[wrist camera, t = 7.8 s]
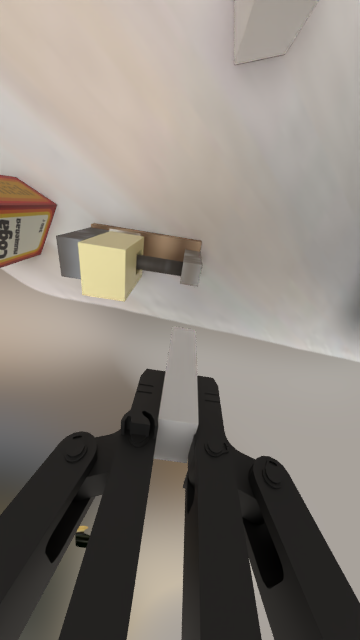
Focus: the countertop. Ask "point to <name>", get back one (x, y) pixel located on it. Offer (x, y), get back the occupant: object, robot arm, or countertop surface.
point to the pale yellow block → (110, 265)
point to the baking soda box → (22, 220)
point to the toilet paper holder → (157, 254)
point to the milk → (267, 27)
